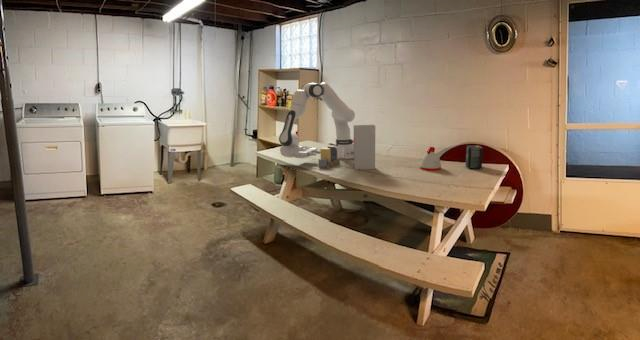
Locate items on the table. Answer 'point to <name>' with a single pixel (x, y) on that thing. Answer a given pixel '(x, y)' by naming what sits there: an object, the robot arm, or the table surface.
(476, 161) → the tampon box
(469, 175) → the table surface
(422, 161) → the grey and red dome
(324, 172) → the table surface
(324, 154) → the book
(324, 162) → the bookend
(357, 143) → the tall grey box
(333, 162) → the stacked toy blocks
